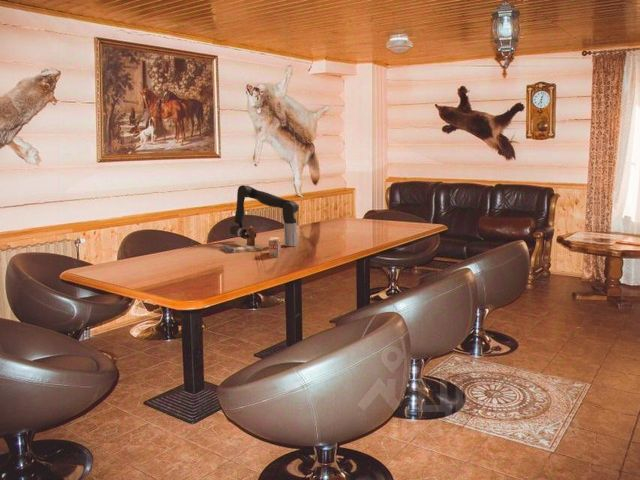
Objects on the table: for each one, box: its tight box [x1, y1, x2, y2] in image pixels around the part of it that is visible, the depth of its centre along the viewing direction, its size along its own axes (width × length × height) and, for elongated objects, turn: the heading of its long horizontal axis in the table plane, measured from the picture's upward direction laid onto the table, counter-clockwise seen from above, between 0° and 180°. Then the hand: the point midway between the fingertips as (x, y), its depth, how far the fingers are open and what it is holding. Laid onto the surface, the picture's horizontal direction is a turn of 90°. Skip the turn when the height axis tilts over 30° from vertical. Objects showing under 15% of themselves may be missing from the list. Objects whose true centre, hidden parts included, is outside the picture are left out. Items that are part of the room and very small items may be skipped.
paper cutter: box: [221, 244, 264, 254], centre depth 443 cm, size 25×17×3 cm
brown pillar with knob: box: [246, 225, 256, 246], centre depth 450 cm, size 4×4×14 cm
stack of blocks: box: [268, 236, 282, 259], centre depth 424 cm, size 21×6×12 cm, turn 179°
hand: (252, 236), depth 448 cm, fingers closed on brown pillar with knob, 4 cm apart
